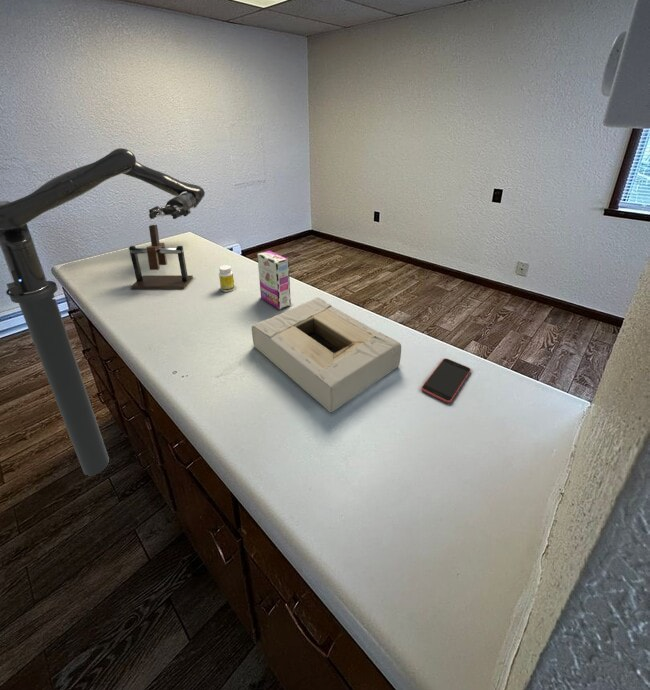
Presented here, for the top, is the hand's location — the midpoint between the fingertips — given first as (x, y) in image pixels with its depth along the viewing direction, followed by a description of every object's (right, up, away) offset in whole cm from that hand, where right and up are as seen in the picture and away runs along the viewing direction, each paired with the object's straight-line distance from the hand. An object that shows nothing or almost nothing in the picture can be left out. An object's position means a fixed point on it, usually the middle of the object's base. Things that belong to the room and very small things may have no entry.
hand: (162, 216), depth 134 cm
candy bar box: (+44, -30, -14) cm, 55 cm away
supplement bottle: (+26, -27, -5) cm, 37 cm away
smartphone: (+89, -44, -49) cm, 111 cm away
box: (+60, -41, -40) cm, 83 cm away
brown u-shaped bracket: (+1, -19, -4) cm, 19 cm away
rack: (+1, -25, -1) cm, 25 cm away
